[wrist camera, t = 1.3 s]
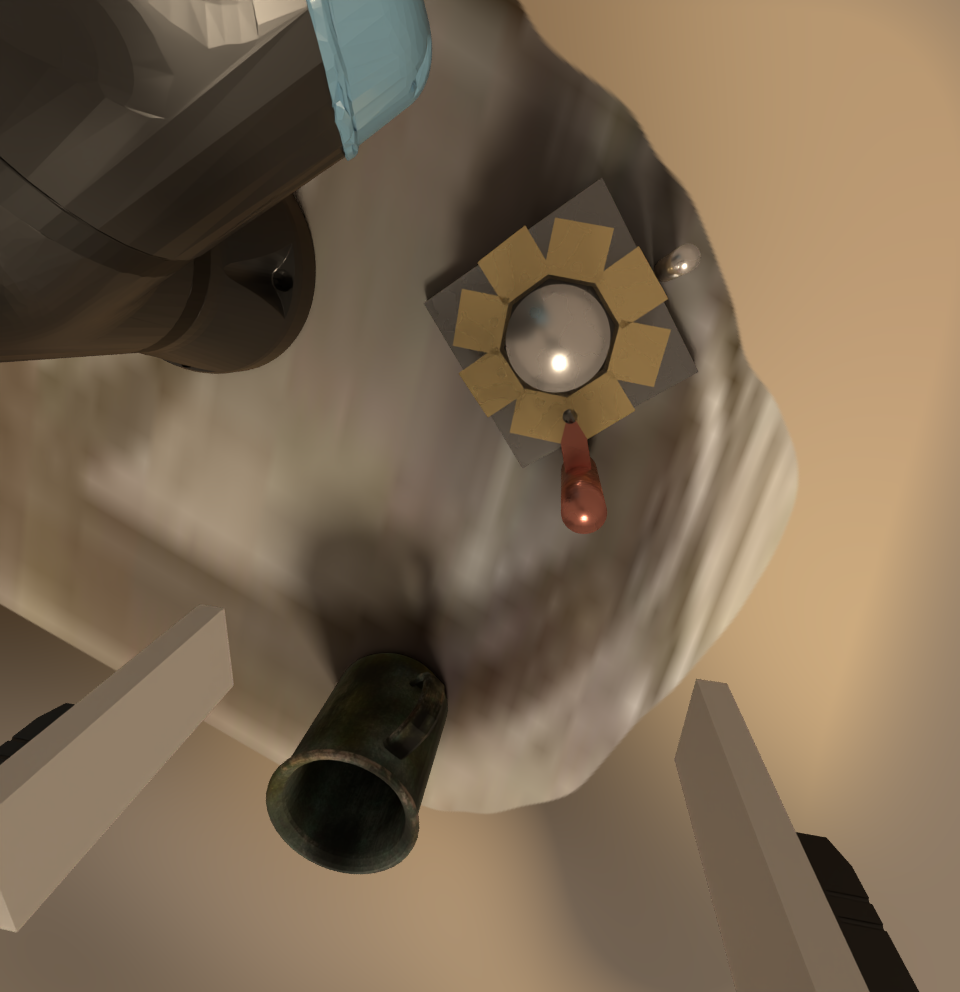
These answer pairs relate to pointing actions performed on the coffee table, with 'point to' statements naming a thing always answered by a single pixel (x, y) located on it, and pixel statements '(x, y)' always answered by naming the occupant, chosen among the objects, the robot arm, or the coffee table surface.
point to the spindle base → (541, 234)
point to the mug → (362, 767)
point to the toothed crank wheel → (602, 398)
